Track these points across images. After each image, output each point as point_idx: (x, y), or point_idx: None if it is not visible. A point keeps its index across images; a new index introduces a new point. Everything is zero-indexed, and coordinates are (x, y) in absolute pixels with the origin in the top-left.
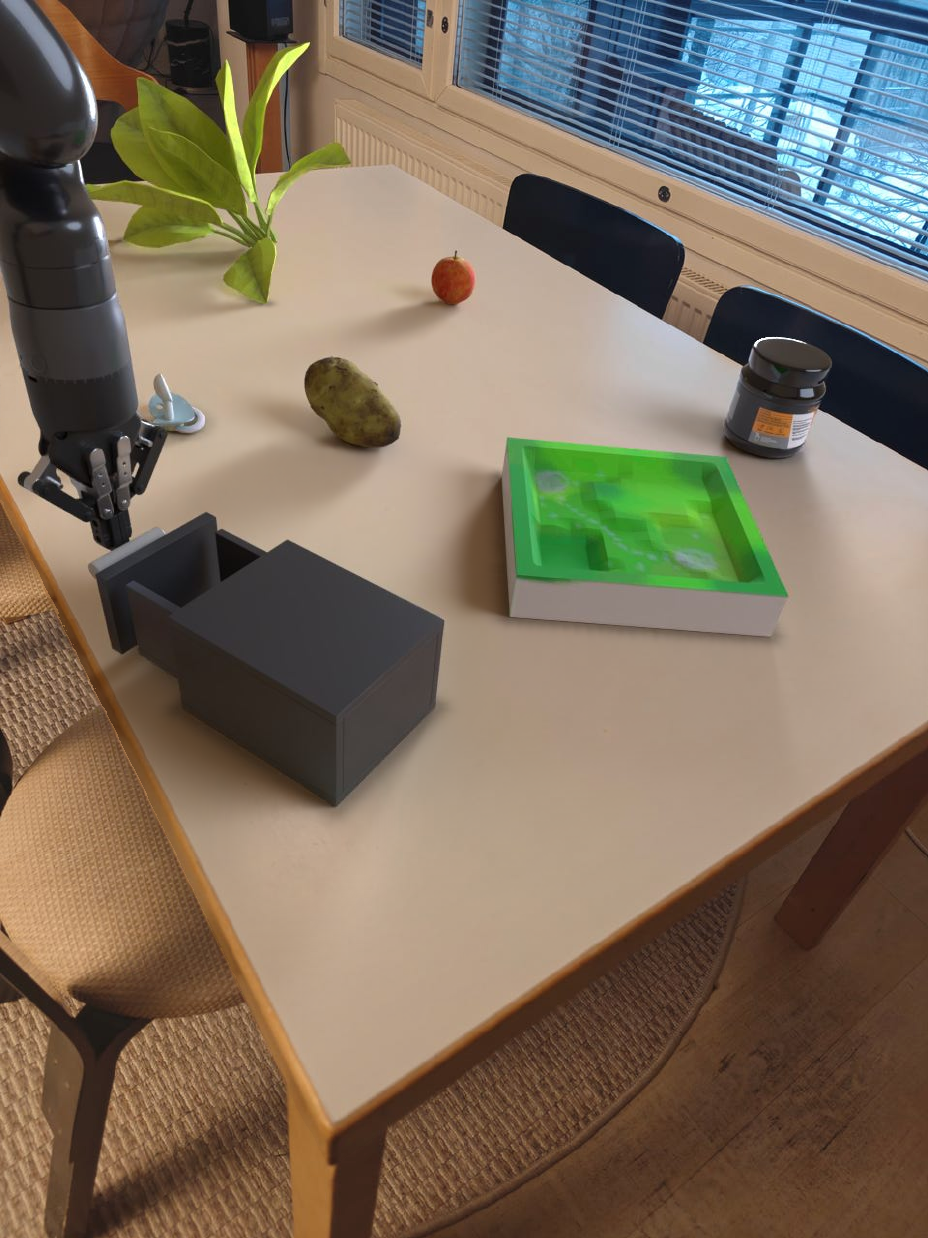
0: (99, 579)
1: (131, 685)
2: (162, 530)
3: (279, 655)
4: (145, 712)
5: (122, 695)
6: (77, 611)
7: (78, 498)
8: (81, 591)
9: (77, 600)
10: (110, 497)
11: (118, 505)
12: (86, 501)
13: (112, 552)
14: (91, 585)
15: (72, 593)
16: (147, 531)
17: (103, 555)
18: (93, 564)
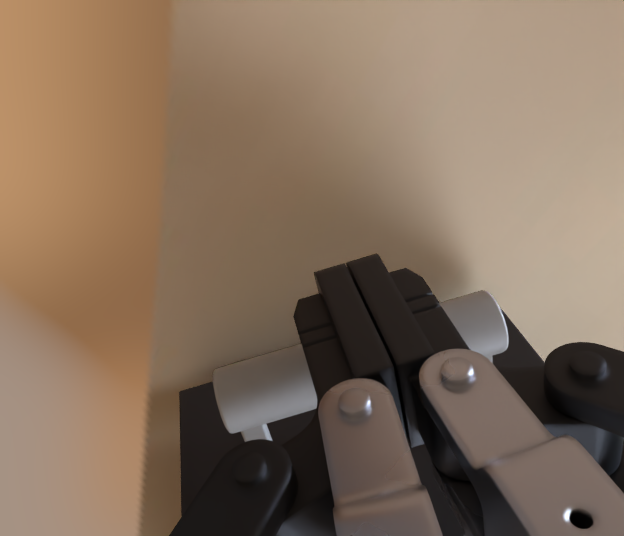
0: None
1: (176, 448)
2: (504, 350)
3: None
4: (170, 504)
5: (150, 462)
6: (163, 187)
7: (309, 505)
8: (208, 105)
9: (181, 140)
10: (446, 456)
11: (438, 484)
12: (329, 526)
13: (310, 395)
14: (247, 93)
15: (181, 99)
16: (466, 339)
17: (279, 388)
18: (227, 425)
